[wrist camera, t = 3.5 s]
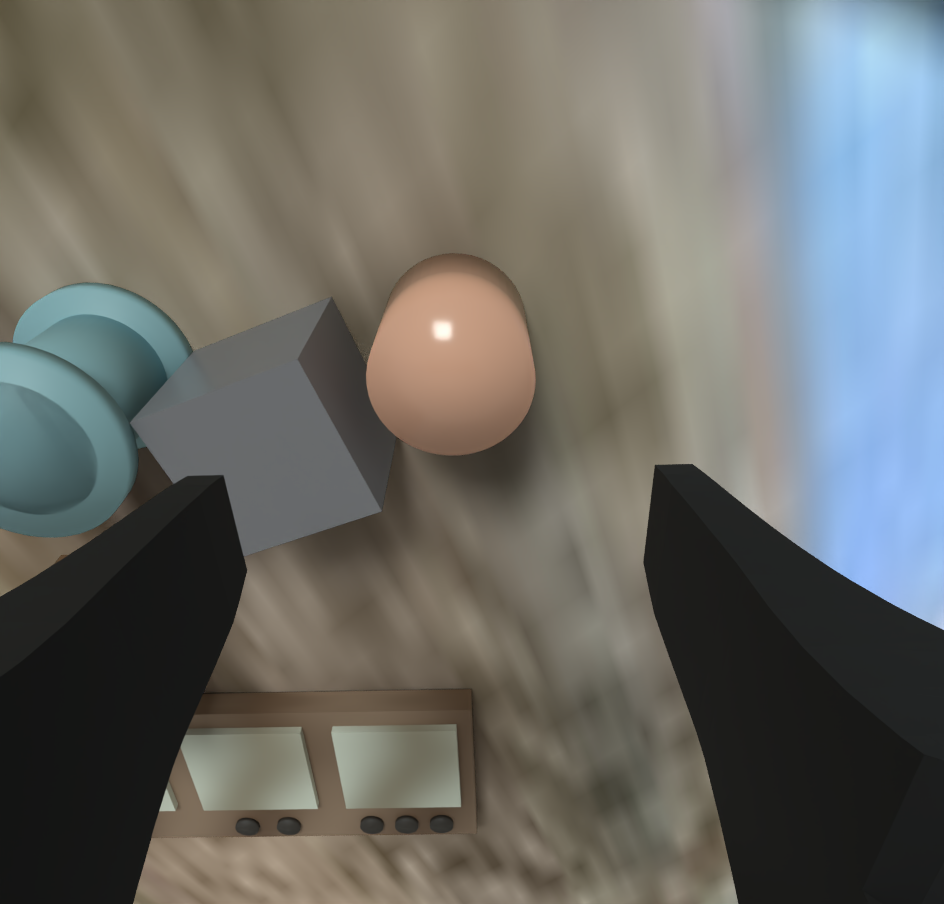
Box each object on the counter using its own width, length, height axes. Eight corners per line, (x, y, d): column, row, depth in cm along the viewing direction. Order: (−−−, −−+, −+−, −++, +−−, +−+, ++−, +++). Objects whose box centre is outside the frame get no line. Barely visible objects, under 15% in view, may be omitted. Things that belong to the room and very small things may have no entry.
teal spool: (57, 442, 22) (-44, 540, 18) (-3, 286, 20) (-138, 355, 15) (215, 437, 22) (152, 534, 18) (175, 279, 19) (90, 348, 15)
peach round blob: (391, 389, 21) (374, 457, 18) (378, 255, 19) (356, 303, 16) (524, 385, 21) (534, 453, 18) (525, 251, 19) (537, 298, 16)
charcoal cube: (271, 471, 23) (229, 561, 19) (194, 349, 21) (129, 422, 17) (398, 427, 22) (382, 511, 18) (331, 295, 20) (297, 358, 16)
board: (81, 817, 32) (66, 845, 31) (18, 697, 28) (-1, 724, 27) (476, 811, 32) (476, 840, 31) (471, 689, 28) (471, 716, 27)
